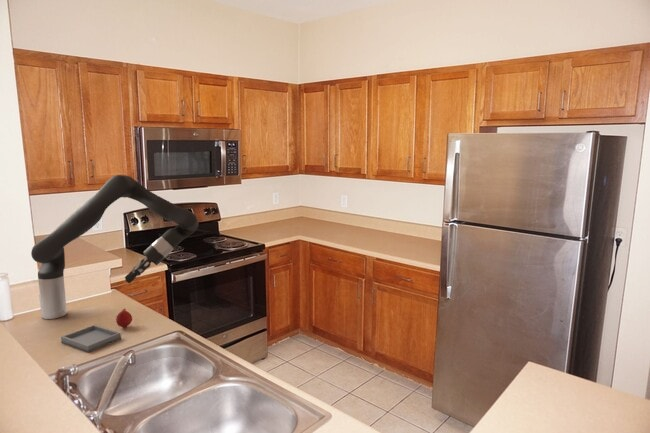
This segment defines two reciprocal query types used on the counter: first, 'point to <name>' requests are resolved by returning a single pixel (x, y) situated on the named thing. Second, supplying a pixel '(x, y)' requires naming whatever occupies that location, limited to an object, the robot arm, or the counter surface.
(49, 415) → the counter surface
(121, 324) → the onion
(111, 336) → the tray
